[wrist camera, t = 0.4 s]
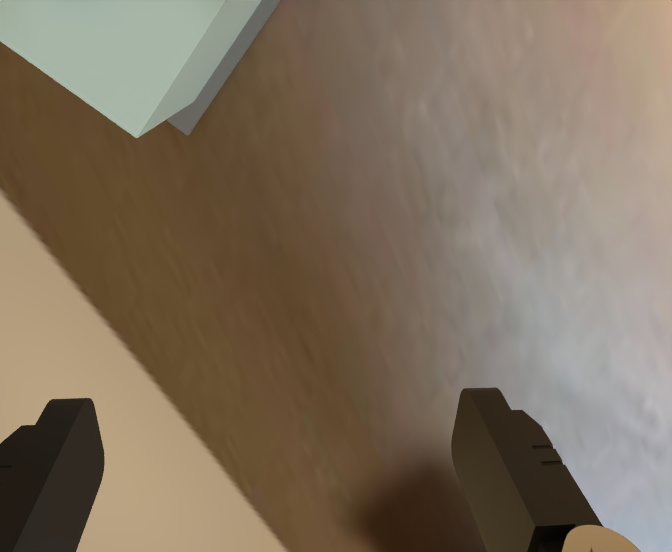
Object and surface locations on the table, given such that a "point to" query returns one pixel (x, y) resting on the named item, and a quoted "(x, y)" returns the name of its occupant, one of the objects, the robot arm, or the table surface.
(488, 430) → the robot arm
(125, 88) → the cloche
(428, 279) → the table surface
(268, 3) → the mat
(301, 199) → the table surface
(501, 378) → the table surface
